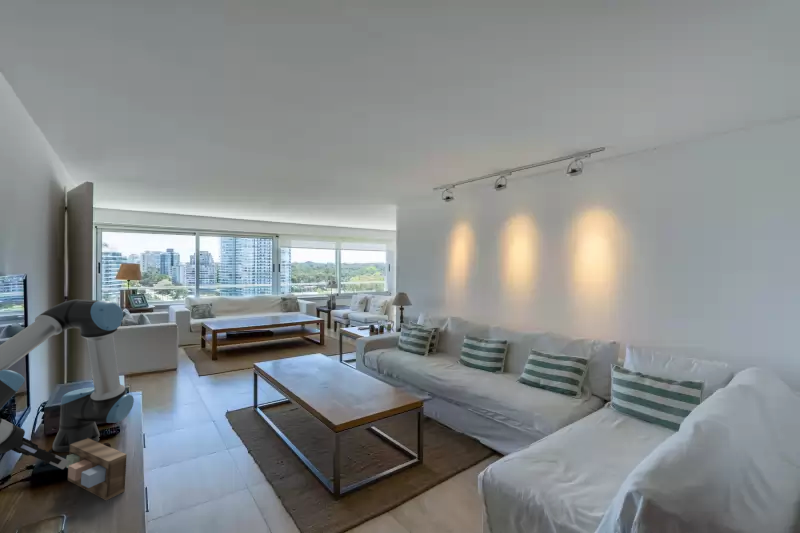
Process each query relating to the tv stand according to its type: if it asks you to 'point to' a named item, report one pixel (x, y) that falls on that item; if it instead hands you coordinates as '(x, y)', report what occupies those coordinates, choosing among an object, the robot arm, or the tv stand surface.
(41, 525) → the tv stand surface
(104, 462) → the wooden block
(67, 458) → the sage key
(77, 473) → the terracotta key
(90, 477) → the slate key
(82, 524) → the tv stand surface
